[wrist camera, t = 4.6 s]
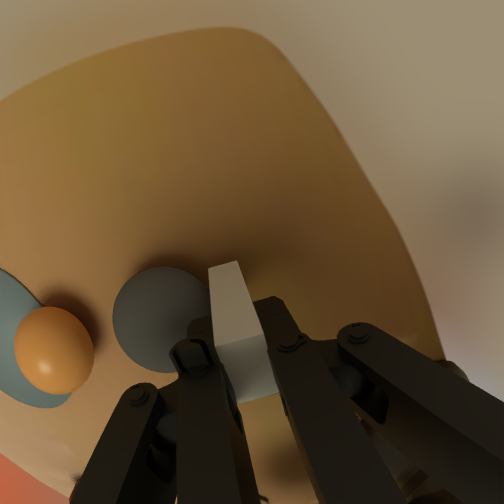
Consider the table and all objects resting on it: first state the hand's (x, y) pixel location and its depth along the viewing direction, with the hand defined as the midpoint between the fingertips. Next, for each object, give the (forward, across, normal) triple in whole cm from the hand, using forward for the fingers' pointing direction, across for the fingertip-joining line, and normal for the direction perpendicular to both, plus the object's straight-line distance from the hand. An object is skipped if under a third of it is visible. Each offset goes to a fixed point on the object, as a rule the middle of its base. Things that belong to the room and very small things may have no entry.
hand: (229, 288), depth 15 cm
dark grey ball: (0, +4, 0) cm, 4 cm away
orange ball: (0, +12, +1) cm, 12 cm away
